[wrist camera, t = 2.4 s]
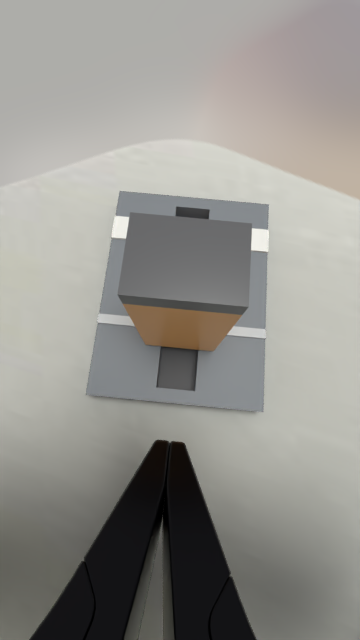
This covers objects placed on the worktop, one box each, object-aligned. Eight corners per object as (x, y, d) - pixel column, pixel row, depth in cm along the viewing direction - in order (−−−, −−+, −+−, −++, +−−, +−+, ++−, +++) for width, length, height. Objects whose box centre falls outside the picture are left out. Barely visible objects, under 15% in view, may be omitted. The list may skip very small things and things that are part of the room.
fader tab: (210, 354, 17) (248, 306, 8) (147, 348, 17) (117, 294, 8) (213, 311, 18) (251, 223, 9) (152, 305, 18) (130, 211, 9)
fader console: (257, 411, 17) (264, 412, 15) (91, 395, 17) (84, 394, 15) (263, 215, 20) (269, 202, 18) (123, 203, 20) (119, 189, 18)
